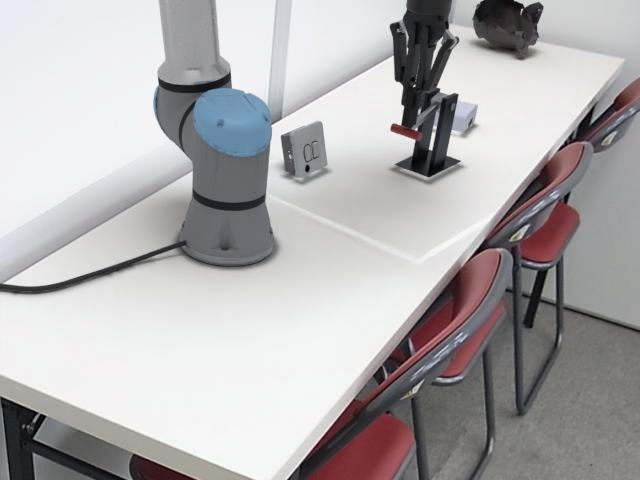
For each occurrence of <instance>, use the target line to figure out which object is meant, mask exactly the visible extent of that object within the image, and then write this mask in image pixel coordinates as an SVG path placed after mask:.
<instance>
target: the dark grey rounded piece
mask: <svg viewBox="0 0 640 480" xmlns="http://www.w3.org/2000/svg"><path fill="white" fill-rule="evenodd" d="M473 8H474V9H475V10H474V13H473V16H472V18H471V20H472V26H473V30H474V34H475V35H476V36H477V38H478V39H479V40H481V39H484V40H485V41H486V42H487V43H488V44H489V45H491V46H490V48H491V49H492V46H495V47H498V48H502V49H511V50H516V51H517V50H518V53H519V54H520V55H521V56H522V57H523V56H525V55H526V54H527V52H528V51H529V48H530V47H531V46H532V47H534V46H535V45H536V44H537V42H538V39H541V37H540V35H539V32H538V24H539V22H540V20H541V18H542V14H543V13H544V12H543V11H544V8H545V6H544V5H543V3H541V2H540V1H537V2H534V3H530V4H528V5H527V6H525V5H524V4H523V3H521V2H519V1H517V0H481V1H479V3H477V4H476V6H475V5H473Z"/></svg>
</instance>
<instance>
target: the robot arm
mask: <svg viewBox="0 0 640 480" xmlns="http://www.w3.org/2000/svg"><path fill="white" fill-rule="evenodd" d="M452 5H453V0H406V3H405V7H406V10H405V13H404V14H403V16H402V19H400V20H398V21H394V22H392V23H390V24H389V30H390V33H391V36H392V47H393V48H392V49H393V51H392V52H393V70H394V71H393V72H394V81H395V82H396V83H399V84H401V86H402V94H401V100H400V104H401V106H402V107H403V106H404V107H403V111H402V116H401V117H402V118H401V124H400V125H401V126H404V127H407V128H409V127H411V126H413V125H416V121H417V117H418V110H419V109H421V108H422V107H423V104H424V98H425V93H426V91H430V90H432V89H435V88H436V87H437V88H438V85H439V83H440V81H441V78H442V75H443V74H444V71H445V69H446V66H447V63H448V61H449V59H450V57H451V54H452V51H453V49H455V47H457V45H458V44H459V42H460V37H459V36H456V35H455V36H454V34H453V33H452V32H451V31H450V30H449V29H450V23H449V16H450V14H451V10H452ZM158 8H159V17H160V24H161V25H160V26H161V32H162V33H161V35H162V43H163V50H164V59H165V60H164V61H163V62H162V63H161V64H160V65H159V66H158V68H157V70H156V71H157V73H156V74H157V81H158V85H157V86H156V88H155V90H154V93H153V99H152V100H153V101H152V102H153V103H152V106H153V107H152V108H153V112H154V117H155V119H156V121H157V124H158V126H159V128H160V129H161V131H162V133H163V134H164V135H165V136H166V138H167V139H169V141H171V142H173V143H174V144H175V146H177V147H178V148H179V150H181V152H182V153H183V154H184V155H185V156H186V157H187V158H188V159H189V160H190V161H191V162H192V180H191V181H192V186H191V187H192V188H191V200H190V202H189V205H188V208H187V211H186V214H185V219H183V221H182V223H181V226H180V231H179V241H178V242H175V243H172V244H169V245H167V246H163V247H160V248H158V249H155V250H152V251H150V252H146V253H145V254H141V255H139V256H136V257H133V258H131V259H127V260H125V261H122V262H119V263H116V264H113V265H111V266H107V267H104V268H101V269H99V270H95V271H91V272H88V273H85V274H82V275H79V276H75V277H73V278H70V279H66V280H63V281H59V282H56V283H51V284H45V285H32V286H27V285H15V284H7V283H0V290H7V291H13V292H14V291H15V292H27V293H28V292H29V293H32V292H45V291H51V290H56V289H57V290H58V289H61V288H64V287H68V286H71V285H73V284H77V283H79V282H83V281H86V280H89V279H92V278H96V277H99V276H102V275H105V274H108V273H111V272H114V271H117V270H120V269H122V268H125V267H128V266H130V265H133V264H137V263H140V262H142V261H146V260H147V259H150V258H152V257H153V258H154V257H156V256H158V255H161V254H164V253H166V252H167V253H168V252H170V251H172V250H175V249H178V248H181V249H182V251H183V252H184V253H186V255H188V256H189V257H191V258H193V259H194V260H197V261H200V262H203V263H206V264H210V265H214V266H223V267H238V266H239V267H240V266H246V265H251V264H255V263H258V262H260V261H262V260H264V259H266V258H268V257H269V255H271V253H272V252H273V250H274V243H275V242H274V240H275V238H274V237H275V236H274V230H273V227H272V225H271V219H270V215H269V211H268V206H267V203H266V202H267V201H266V200H267V189H268V188H267V187H268V176H269V164H270V152H271V141H272V137H273V127H272V113H271V110H270V108H269V106H268V105H267V103H266V102H265V101H264V100H263V99H262V98H261V97H259V96H257V95H256V94H253V93H251V92H248V93H247V92H245V91H244V90H242V89H238V88H233V82H232V72H231V71H232V68H231V64H230V62H228V61H227V59H225V58H224V57H223V56H222V55H221V50H220V39H219V26H218V25H219V23H218V10H217V0H158ZM407 37H408V38H407ZM441 39H442V40H441ZM440 40H441V42H440V45H441V46H440V48H439V49H438V52H437V53H436V56H435V59H434V53H435V51H436V49H437V47H438V42H439V41H440ZM433 59H434V61H433Z"/></svg>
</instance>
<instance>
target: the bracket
mask: <svg viewBox="0 0 640 480" xmlns="http://www.w3.org/2000/svg"><path fill="white" fill-rule="evenodd" d="M438 92H441V88H440V87H438V86H437V87H436V88H435V89H432V90H430V91H426V93H425V98H424V104H423V107H422V108H421V112H420V114H421V113H423V112H424V111H425V110H426V109H427V108H428V107H429V106H431V98H433V97H434V96H435V95H436V94H437V93H438ZM447 95H448V96H446V97H443V98H442V102H441V108H440V113H439V118H438V123H437V126H436V129H435V135H434V139H433V144H432V149H430V146H431V141H432V135H433V130H434V127H435V126H434V120H435V115H436V112H434V113H433V114H432V115H431V116H430V117H429V118H427V119H426V120H425V121H424V122H423V123H422V124H421V125H419V126H418V127H417V128H416V131H419V132H421V133H422V138H421V140H420V141H417V140H414V146H413V151H412V155H411V156H409V157H407V158H404V159H403V160H401V161H398V162H396V163H394V166H396V167H398V168H399V167H400V168H402V169H404V170H408V171H410V172H413V173H415V174H418V175H421V176H424V177H426V178H431V177H433V176H436V175H437V174H439V173H441V172H443V171H445V170H447V169H449V168H451V167H453V166H455V165H457V164H460V163H461V162H462V160H460V159H457V158H454V157H453V156H449V155H447V154H448V151H449V150H448V149H449V145H450V140H451V135H452V131H453V130H452V125H453V120H454V116H455V111H456V106H457V101H459V95H460V94H459V93H456V92H453V93H450V94H447Z"/></svg>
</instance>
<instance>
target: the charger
mask: <svg viewBox="0 0 640 480" xmlns="http://www.w3.org/2000/svg"><path fill="white" fill-rule="evenodd" d="M402 107H403V108H404V106H403V105H402ZM478 107H479V105H478V104H476V103H472V102H471V103H470V102H466V101H462V100H458V101H457V106H456V111H455V116H454V120H453V125H452V130H451V131H454V132H459V133H464V132H465V131H466V130H467V129H468V128H472V127H473V126H474V124H475V122H476V117H477V111H478ZM420 112H421V109H419V110H418V116H419V115H420ZM418 116H417V117H418ZM438 118H439V113H438V112H436V115H435V120H434V126H433V127H437V123H438Z"/></svg>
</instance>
